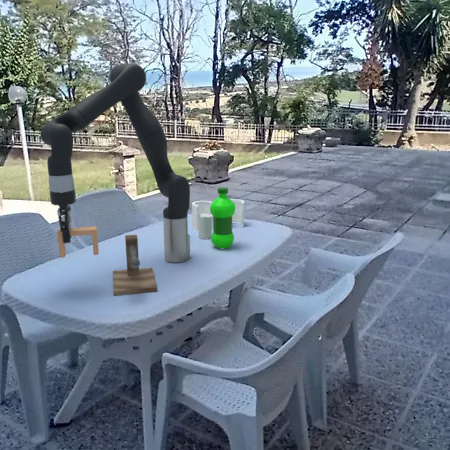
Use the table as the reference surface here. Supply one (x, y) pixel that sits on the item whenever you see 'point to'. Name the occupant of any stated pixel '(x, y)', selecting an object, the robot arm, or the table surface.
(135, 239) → the hook stand
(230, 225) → the plastic bottle
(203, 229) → the drinking glass
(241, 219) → the white caddy
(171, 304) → the table surface
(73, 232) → the wooden staple shape
